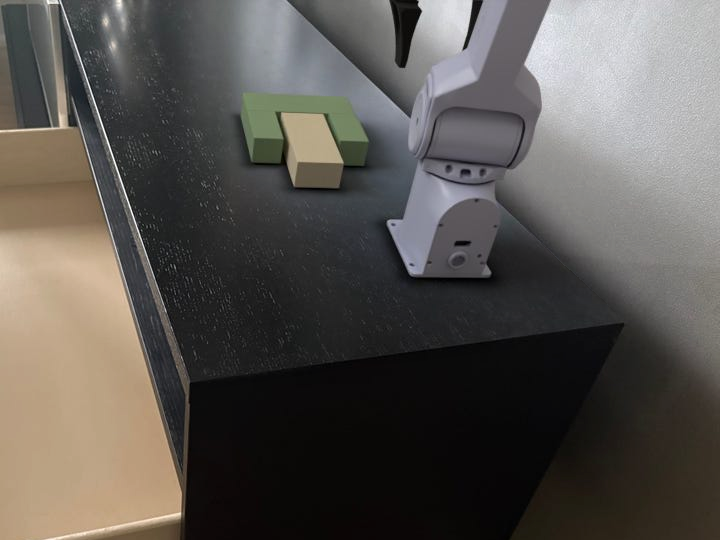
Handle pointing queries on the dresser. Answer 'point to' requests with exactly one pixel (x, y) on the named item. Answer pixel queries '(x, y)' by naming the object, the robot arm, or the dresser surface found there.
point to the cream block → (310, 151)
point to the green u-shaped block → (266, 112)
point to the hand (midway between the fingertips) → (432, 66)
